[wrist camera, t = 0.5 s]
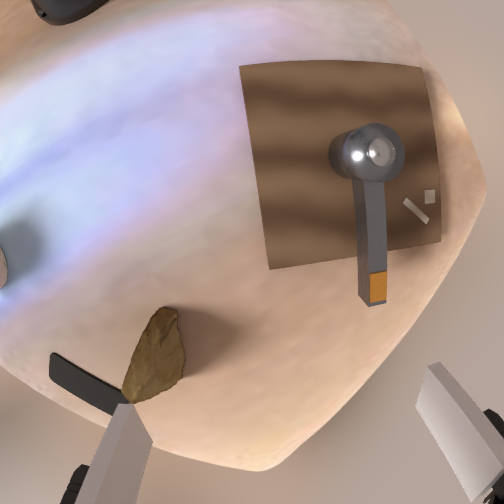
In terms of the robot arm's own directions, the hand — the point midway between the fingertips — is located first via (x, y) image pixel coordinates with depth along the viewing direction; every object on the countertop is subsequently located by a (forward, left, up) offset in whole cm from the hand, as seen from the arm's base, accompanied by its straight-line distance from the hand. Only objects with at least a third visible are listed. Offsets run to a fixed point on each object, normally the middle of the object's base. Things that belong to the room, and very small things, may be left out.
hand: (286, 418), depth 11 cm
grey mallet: (-4, +11, -21) cm, 24 cm away
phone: (+18, -31, -24) cm, 43 cm away
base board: (-10, +12, -23) cm, 28 cm away
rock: (+10, -13, -23) cm, 28 cm away
